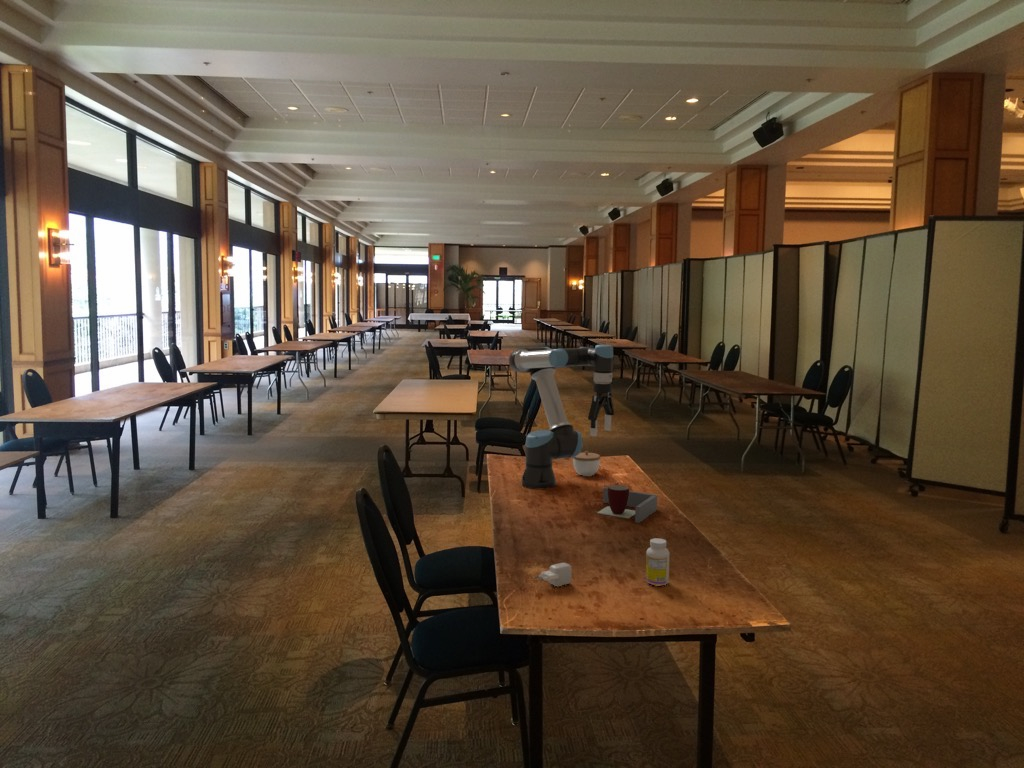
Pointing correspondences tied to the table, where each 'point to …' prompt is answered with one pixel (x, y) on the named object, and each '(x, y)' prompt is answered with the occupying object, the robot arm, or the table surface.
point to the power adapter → (557, 574)
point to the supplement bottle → (657, 562)
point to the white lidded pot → (586, 463)
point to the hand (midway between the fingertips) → (600, 433)
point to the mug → (618, 498)
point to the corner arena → (633, 505)
